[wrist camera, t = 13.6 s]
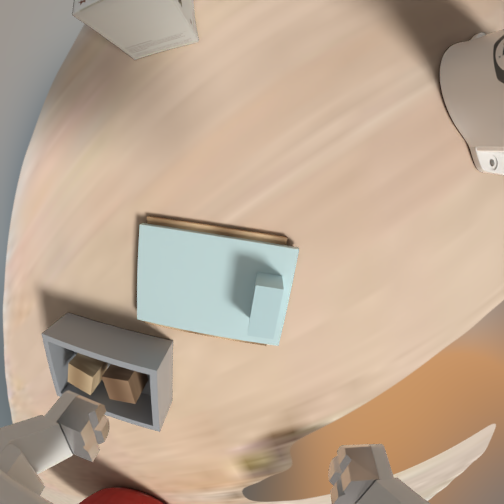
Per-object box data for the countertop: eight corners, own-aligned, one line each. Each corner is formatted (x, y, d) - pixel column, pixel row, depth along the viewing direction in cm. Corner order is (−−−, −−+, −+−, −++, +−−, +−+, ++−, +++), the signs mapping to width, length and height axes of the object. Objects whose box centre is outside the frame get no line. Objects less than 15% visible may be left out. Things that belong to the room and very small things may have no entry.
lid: (298, 247, 29) (303, 260, 25) (278, 341, 32) (279, 364, 28) (142, 222, 29) (124, 231, 25) (139, 316, 32) (124, 334, 28)
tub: (173, 340, 33) (156, 370, 27) (172, 400, 36) (159, 431, 30) (67, 312, 33) (41, 333, 28) (77, 371, 36) (57, 395, 30)
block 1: (109, 356, 34) (92, 377, 29) (106, 374, 35) (90, 395, 30) (86, 343, 33) (68, 363, 29) (84, 361, 34) (67, 381, 30)
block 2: (142, 357, 33) (128, 381, 29) (148, 379, 34) (135, 403, 30) (118, 354, 33) (101, 376, 29) (124, 376, 34) (109, 399, 30)
